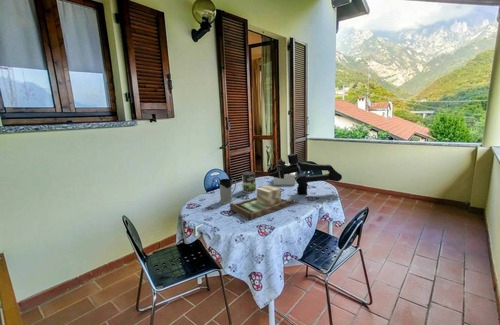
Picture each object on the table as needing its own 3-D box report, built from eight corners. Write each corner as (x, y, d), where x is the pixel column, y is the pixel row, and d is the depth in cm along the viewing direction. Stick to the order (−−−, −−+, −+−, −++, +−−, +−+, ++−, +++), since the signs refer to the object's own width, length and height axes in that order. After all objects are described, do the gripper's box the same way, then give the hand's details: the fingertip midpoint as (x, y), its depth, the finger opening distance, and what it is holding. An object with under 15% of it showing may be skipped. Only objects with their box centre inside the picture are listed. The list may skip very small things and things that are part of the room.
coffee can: (258, 191, 189) (257, 173, 186) (246, 193, 185) (245, 175, 182) (252, 187, 198) (251, 170, 195) (240, 190, 194) (239, 172, 191)
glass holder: (217, 201, 171) (216, 180, 168) (232, 196, 181) (231, 176, 178) (225, 204, 165) (224, 182, 162) (240, 198, 175) (239, 178, 172)
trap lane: (273, 196, 176) (273, 190, 176) (294, 203, 161) (294, 197, 160) (230, 209, 155) (230, 203, 155) (249, 219, 140) (248, 213, 139)
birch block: (269, 197, 168) (269, 184, 166) (281, 201, 159) (280, 188, 158) (257, 201, 162) (256, 188, 160) (268, 206, 153) (267, 192, 151)
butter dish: (273, 184, 204) (273, 166, 201) (275, 179, 221) (274, 161, 218) (295, 185, 201) (295, 166, 198) (295, 179, 218) (294, 161, 215)
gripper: (285, 156, 183) (265, 160, 184) (290, 161, 165) (267, 165, 165) (288, 170, 185) (268, 174, 186) (292, 176, 167) (270, 181, 168)
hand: (268, 173), depth 176 cm, fingers open, 9 cm apart
